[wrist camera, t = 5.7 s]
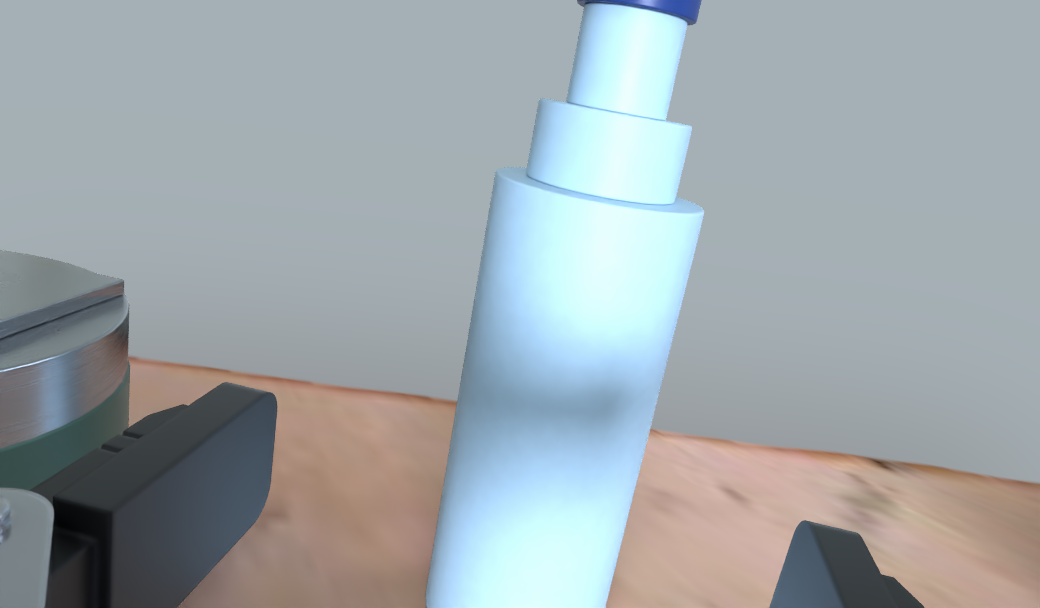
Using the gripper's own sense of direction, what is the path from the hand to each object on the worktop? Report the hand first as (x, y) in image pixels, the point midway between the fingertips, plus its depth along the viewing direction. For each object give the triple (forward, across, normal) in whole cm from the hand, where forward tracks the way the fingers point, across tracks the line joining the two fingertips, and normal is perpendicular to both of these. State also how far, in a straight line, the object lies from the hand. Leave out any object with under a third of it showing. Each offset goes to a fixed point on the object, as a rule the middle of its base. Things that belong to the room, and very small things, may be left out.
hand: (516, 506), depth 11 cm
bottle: (+10, 0, +10) cm, 14 cm away
